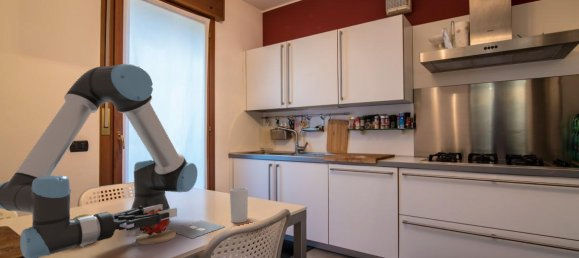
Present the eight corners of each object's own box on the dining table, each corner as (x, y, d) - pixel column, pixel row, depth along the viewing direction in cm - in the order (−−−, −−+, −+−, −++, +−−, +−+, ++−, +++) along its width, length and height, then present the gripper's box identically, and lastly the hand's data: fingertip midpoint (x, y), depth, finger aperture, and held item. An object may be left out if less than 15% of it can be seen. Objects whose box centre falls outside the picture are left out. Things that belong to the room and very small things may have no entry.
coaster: (128, 239, 97) (128, 237, 97) (162, 229, 107) (162, 227, 107) (147, 247, 90) (147, 245, 90) (182, 235, 100) (182, 233, 100)
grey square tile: (167, 230, 105) (167, 230, 105) (200, 220, 117) (200, 220, 117) (192, 238, 97) (192, 238, 97) (225, 226, 108) (225, 226, 108)
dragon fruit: (136, 244, 93) (165, 237, 104) (156, 230, 91) (182, 224, 102) (127, 220, 95) (155, 215, 106) (145, 205, 94) (172, 202, 105)
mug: (242, 223, 112) (242, 191, 112) (227, 222, 114) (226, 190, 114) (254, 216, 121) (254, 186, 121) (239, 215, 123) (239, 185, 124)
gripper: (80, 234, 90) (152, 216, 109) (111, 249, 78) (187, 226, 96) (80, 209, 90) (152, 195, 109) (111, 220, 78) (187, 202, 96)
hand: (168, 210), depth 103 cm, fingers open, 8 cm apart
